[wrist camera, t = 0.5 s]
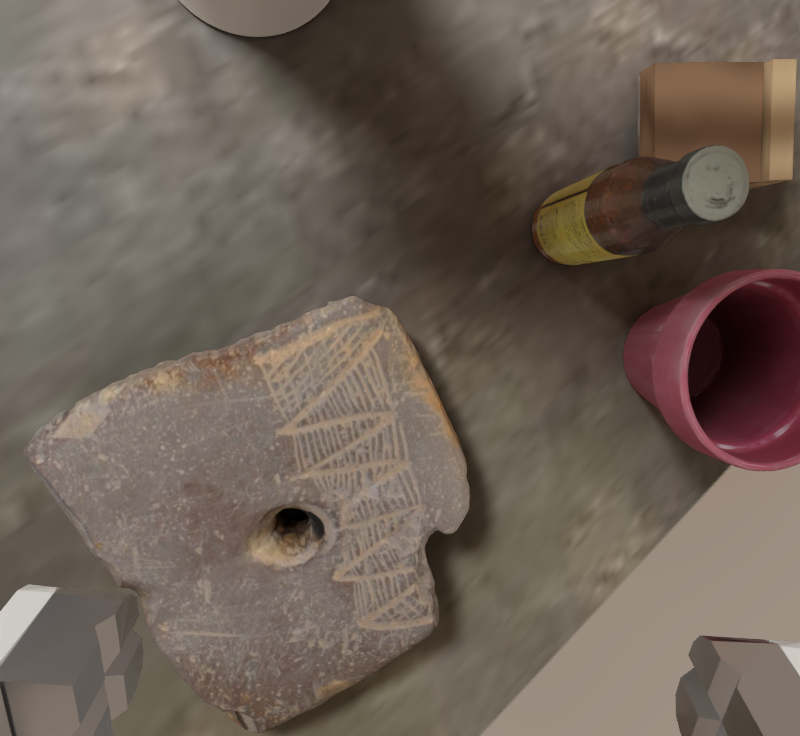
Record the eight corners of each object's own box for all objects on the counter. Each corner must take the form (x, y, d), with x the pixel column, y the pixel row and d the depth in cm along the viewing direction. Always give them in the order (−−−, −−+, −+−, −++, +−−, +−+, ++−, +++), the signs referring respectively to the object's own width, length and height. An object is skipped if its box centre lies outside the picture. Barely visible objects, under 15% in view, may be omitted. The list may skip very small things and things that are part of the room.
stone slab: (30, 425, 49) (-9, 446, 43) (361, 255, 51) (368, 251, 45) (228, 729, 55) (218, 784, 49) (520, 566, 56) (545, 600, 50)
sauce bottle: (575, 279, 53) (728, 276, 34) (514, 242, 52) (636, 217, 33) (613, 210, 53) (790, 167, 34) (553, 172, 52) (699, 104, 32)
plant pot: (774, 337, 57) (906, 352, 44) (679, 461, 57) (783, 511, 45) (662, 238, 54) (768, 224, 41) (563, 369, 54) (639, 394, 42)
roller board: (626, 81, 52) (659, 59, 47) (751, 79, 53) (796, 59, 48) (626, 193, 53) (658, 184, 48) (748, 189, 55) (792, 179, 50)
